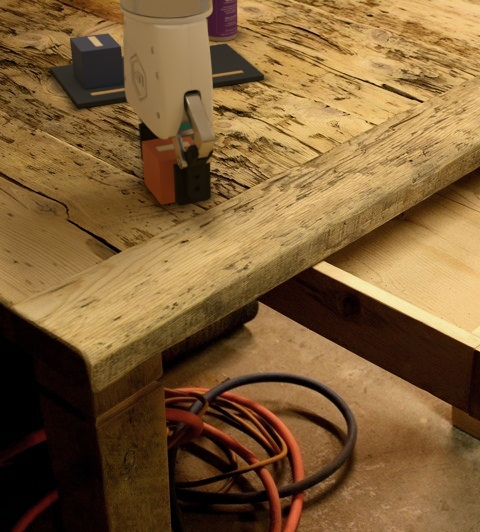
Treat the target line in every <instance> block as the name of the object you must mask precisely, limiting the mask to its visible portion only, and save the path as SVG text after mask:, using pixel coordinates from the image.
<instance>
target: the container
mask: <svg viewBox="0 0 480 532" xmlns="http://www.w3.org/2000/svg"><path fill="white" fill-rule="evenodd" d="M212 6H213V11H212V13H211V15H209V16H208V17H207V18H206V22H207V29H208V37H209V41H213V42H228V41H233V40H234V39H236V38H237V37H238V0H212Z"/></svg>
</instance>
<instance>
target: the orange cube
mask: <svg viewBox="0 0 480 532" xmlns="http://www.w3.org/2000/svg"><path fill="white" fill-rule="evenodd" d="M182 141H183V145H184V149H185V152H186V150H187V149H188V147H189V146H190V145H194V142H193V140H192V139H191V137H185V138H182ZM142 152H143V161H142V164H143V165H142V166H143V179H144V181H143V182H144V185H145V186H146V188H147V189H148V190H149V192H150V193H152V195H153V196H154V197H155V199H156V200H157V202H158V203H159V204H160V205H162V206H163V205H167V204H172V203H176V202H175V189H174V169H173V164H177V158H176V154H175V150H174V146H173V142H172V138H171V137H168V139H165V140H163V139H161V138H159V139H153V140H148V141H142Z"/></svg>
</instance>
